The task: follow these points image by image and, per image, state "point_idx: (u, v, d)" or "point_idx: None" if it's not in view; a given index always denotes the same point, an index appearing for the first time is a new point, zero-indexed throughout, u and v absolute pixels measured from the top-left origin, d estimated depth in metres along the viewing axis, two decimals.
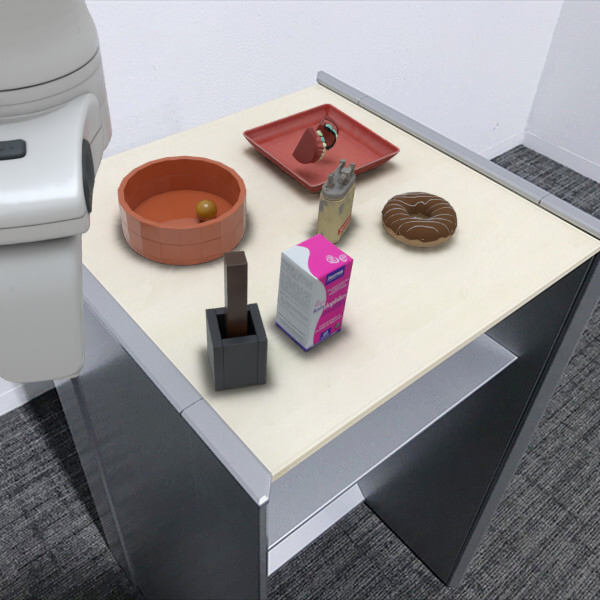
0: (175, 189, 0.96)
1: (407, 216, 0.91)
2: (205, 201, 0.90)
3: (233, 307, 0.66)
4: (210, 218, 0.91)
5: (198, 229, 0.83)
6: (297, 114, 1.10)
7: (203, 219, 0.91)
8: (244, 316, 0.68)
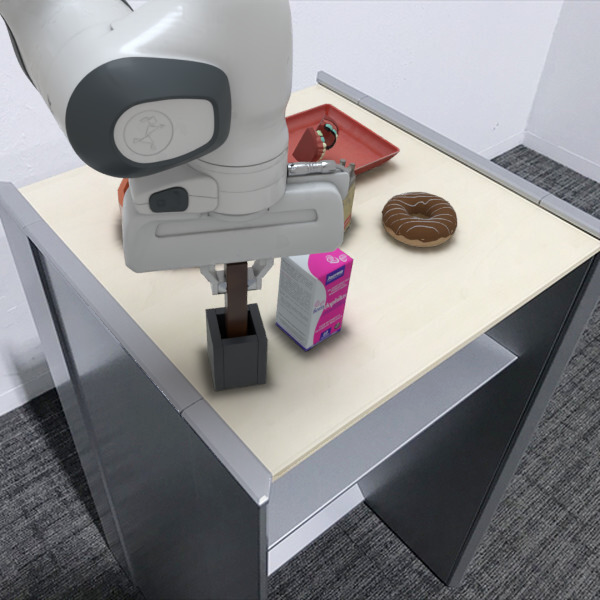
0: None
1: (407, 216, 0.91)
2: None
3: (233, 307, 0.66)
4: None
5: None
6: (297, 114, 1.10)
7: None
8: (244, 316, 0.68)
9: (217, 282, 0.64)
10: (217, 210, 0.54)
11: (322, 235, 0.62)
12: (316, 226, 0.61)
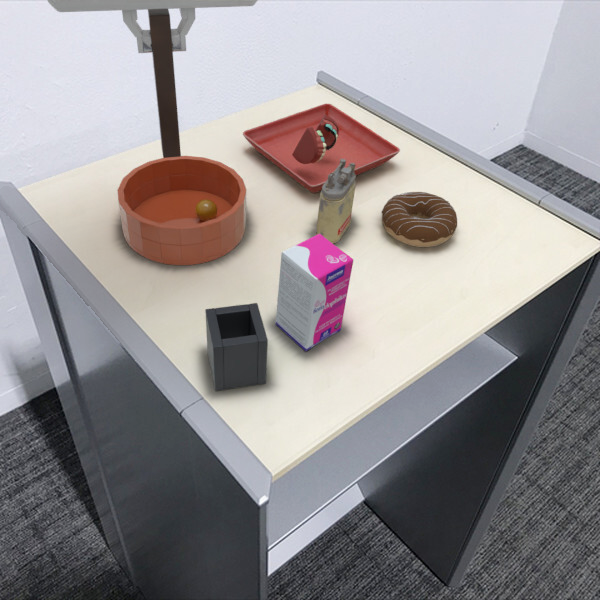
0: (175, 189, 0.96)
1: (407, 216, 0.91)
2: (205, 201, 0.90)
3: (160, 69, 0.69)
4: (210, 218, 0.91)
5: (198, 229, 0.83)
6: (297, 114, 1.10)
7: (203, 219, 0.91)
8: (172, 82, 0.70)
9: (141, 36, 0.66)
10: None
11: None
12: None
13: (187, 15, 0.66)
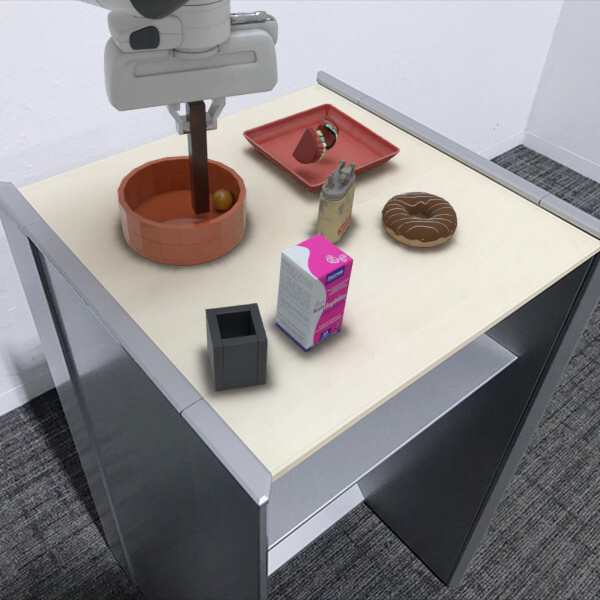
0: (175, 189, 0.96)
1: (407, 216, 0.91)
2: None
3: (196, 145, 0.83)
4: (229, 199, 0.92)
5: (198, 229, 0.83)
6: (297, 114, 1.10)
7: (226, 192, 0.92)
8: (205, 155, 0.85)
9: (182, 122, 0.81)
10: (182, 46, 0.71)
11: (261, 75, 0.80)
12: (256, 67, 0.79)
13: (219, 102, 0.81)
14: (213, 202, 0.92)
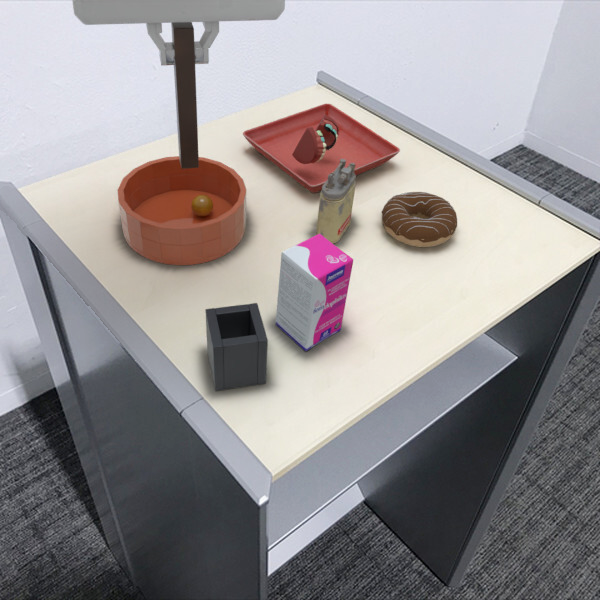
0: (175, 189, 0.96)
1: (407, 216, 0.91)
2: (202, 195, 0.91)
3: (182, 81, 0.69)
4: (200, 211, 0.91)
5: (198, 229, 0.83)
6: (297, 114, 1.10)
7: (194, 211, 0.91)
8: (193, 94, 0.71)
9: (165, 48, 0.67)
10: None
11: None
12: None
13: (211, 28, 0.66)
14: None
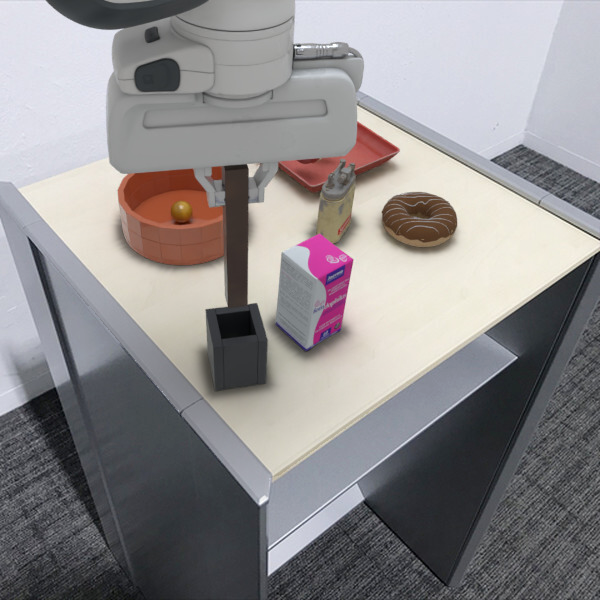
0: (175, 189, 0.96)
1: (407, 216, 0.91)
2: (171, 215, 0.91)
3: (232, 222, 0.59)
4: (187, 220, 0.91)
5: (198, 229, 0.83)
6: None
7: None
8: (245, 235, 0.60)
9: (214, 191, 0.57)
10: (213, 90, 0.47)
11: (332, 134, 0.54)
12: (326, 122, 0.54)
13: (269, 168, 0.56)
14: (188, 203, 0.90)
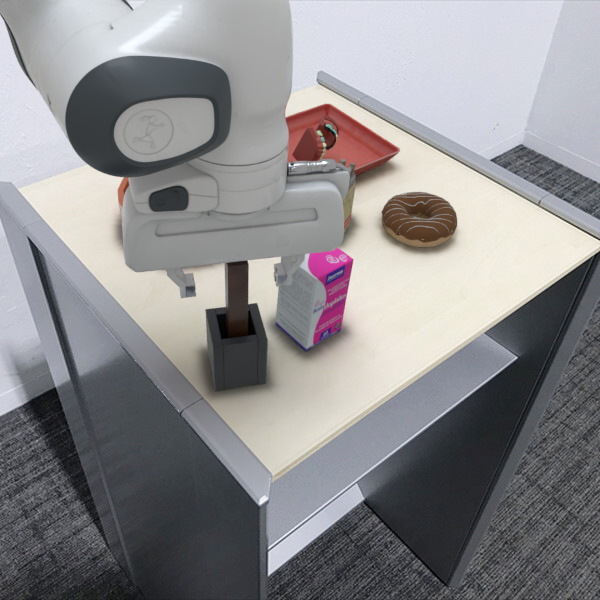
0: None
1: (407, 216, 0.91)
2: None
3: (234, 307, 0.66)
4: None
5: None
6: (297, 114, 1.10)
7: None
8: (245, 316, 0.68)
9: (185, 285, 0.63)
10: (217, 209, 0.54)
11: (322, 235, 0.62)
12: (316, 225, 0.61)
13: (296, 258, 0.64)
14: None
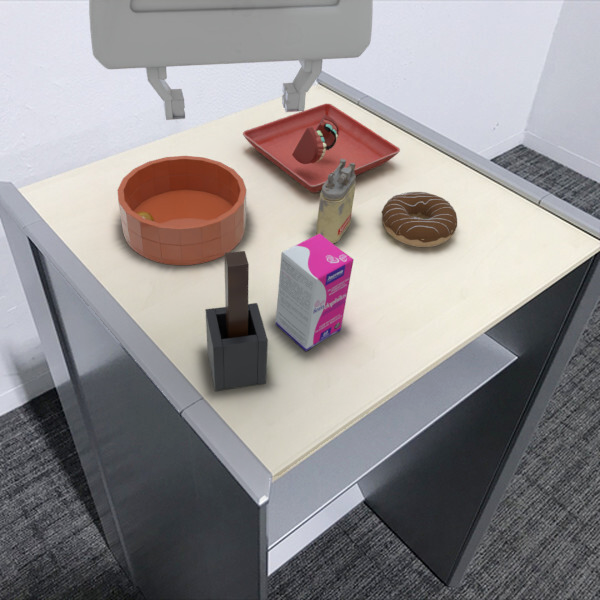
0: (175, 189, 0.96)
1: (407, 216, 0.91)
2: None
3: (234, 307, 0.66)
4: None
5: (198, 229, 0.83)
6: (297, 114, 1.10)
7: None
8: (245, 316, 0.68)
9: (171, 99, 0.50)
10: None
11: (345, 29, 0.48)
12: (338, 13, 0.48)
13: (312, 68, 0.51)
14: None
